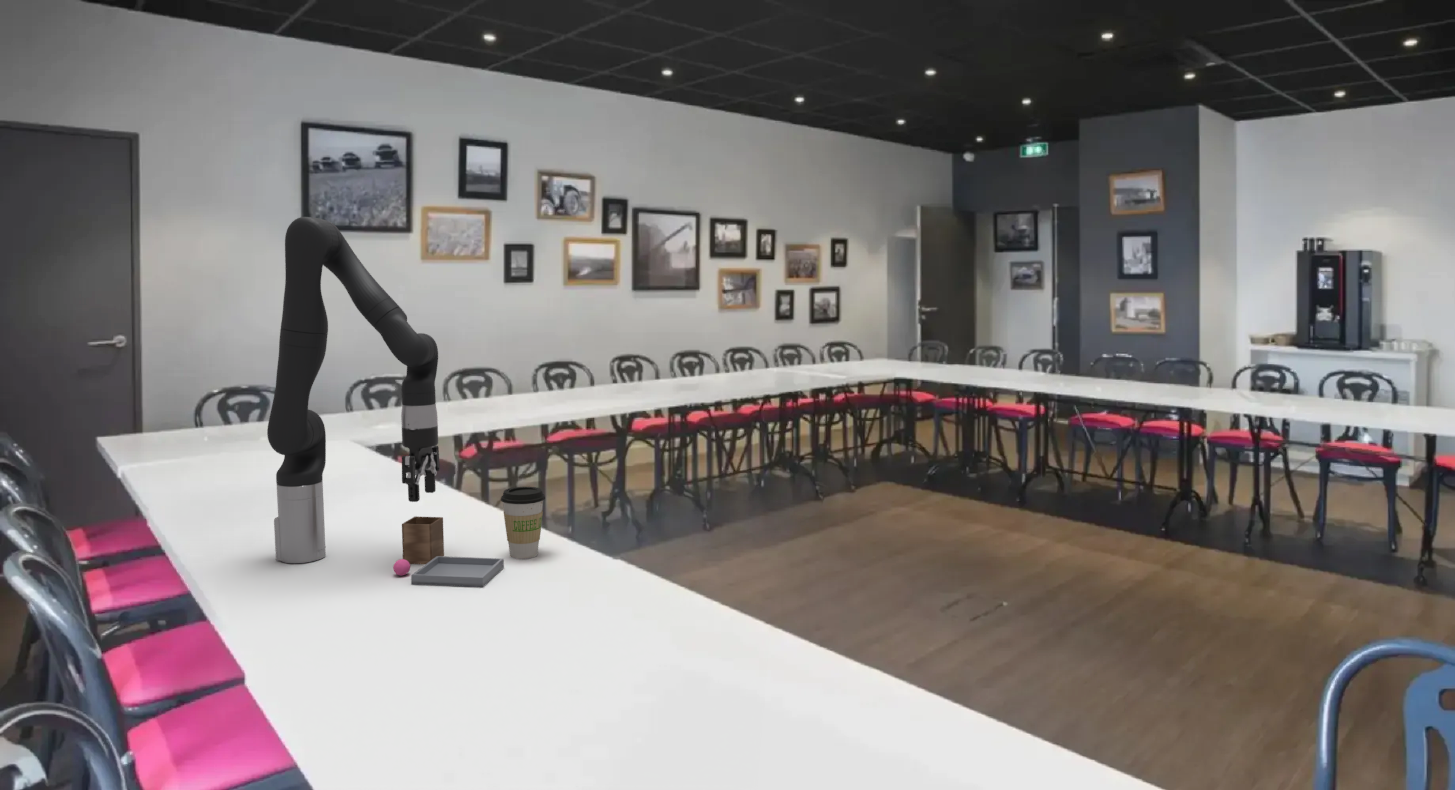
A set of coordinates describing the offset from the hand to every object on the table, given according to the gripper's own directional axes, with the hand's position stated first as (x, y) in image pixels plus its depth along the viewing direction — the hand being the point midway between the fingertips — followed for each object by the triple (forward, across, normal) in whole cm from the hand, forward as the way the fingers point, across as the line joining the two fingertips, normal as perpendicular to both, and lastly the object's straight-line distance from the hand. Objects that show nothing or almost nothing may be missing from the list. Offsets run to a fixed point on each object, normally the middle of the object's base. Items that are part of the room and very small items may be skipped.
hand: (422, 496), depth 196 cm
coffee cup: (+15, -6, +21) cm, 26 cm away
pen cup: (+14, 0, 0) cm, 14 cm away
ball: (+13, +11, 0) cm, 17 cm away
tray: (+14, +10, +12) cm, 21 cm away
